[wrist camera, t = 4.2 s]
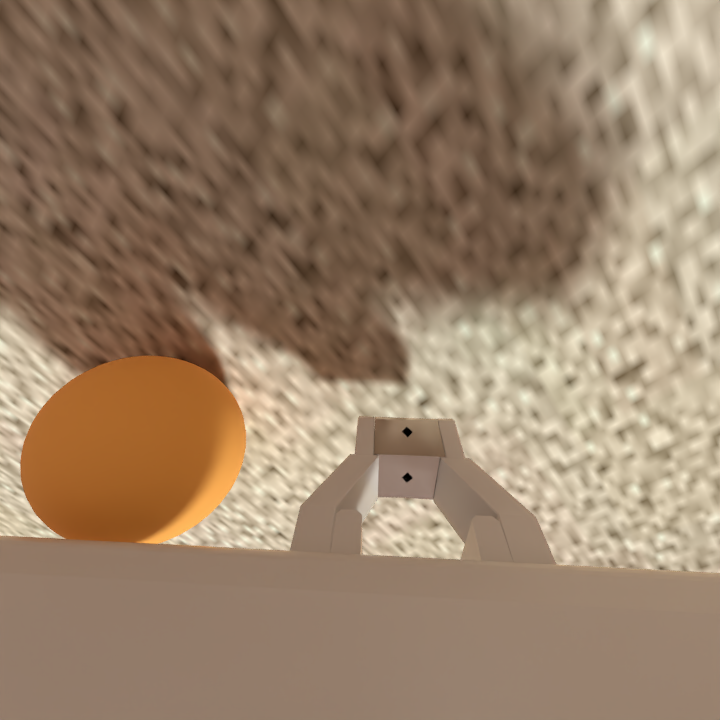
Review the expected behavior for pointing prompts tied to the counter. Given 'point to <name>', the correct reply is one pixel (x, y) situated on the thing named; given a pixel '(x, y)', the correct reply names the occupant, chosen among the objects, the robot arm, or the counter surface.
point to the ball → (133, 451)
